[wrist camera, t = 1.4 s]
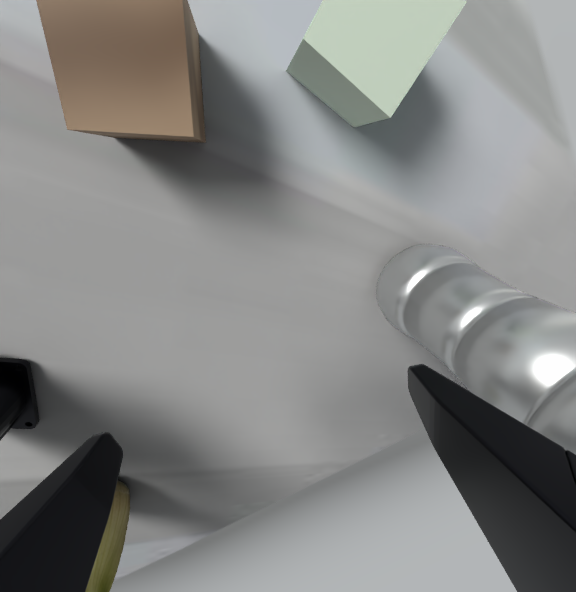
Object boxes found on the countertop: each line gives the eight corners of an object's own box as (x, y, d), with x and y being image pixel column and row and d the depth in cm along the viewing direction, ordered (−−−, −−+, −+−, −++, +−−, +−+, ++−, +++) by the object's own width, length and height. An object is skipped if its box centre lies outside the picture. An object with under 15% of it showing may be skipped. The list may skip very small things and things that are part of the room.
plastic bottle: (350, 276, 22) (809, 763, 4) (425, 217, 21) (1470, 546, 3) (391, 328, 25) (777, 762, 7) (459, 278, 24) (1131, 643, 6)
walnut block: (205, 142, 17) (193, 136, 13) (114, 137, 16) (67, 129, 12) (198, 34, 15) (180, -19, 11) (93, 22, 14) (26, -40, 10)
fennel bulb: (144, 501, 30) (90, 695, 19) (95, 512, 29) (10, 717, 19) (123, 465, 27) (46, 666, 16) (68, 477, 27) (-47, 690, 16)
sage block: (353, 127, 18) (390, 117, 14) (285, 71, 16) (303, 38, 12) (405, 43, 17) (467, 1, 12) (337, -29, 15) (380, -109, 10)
